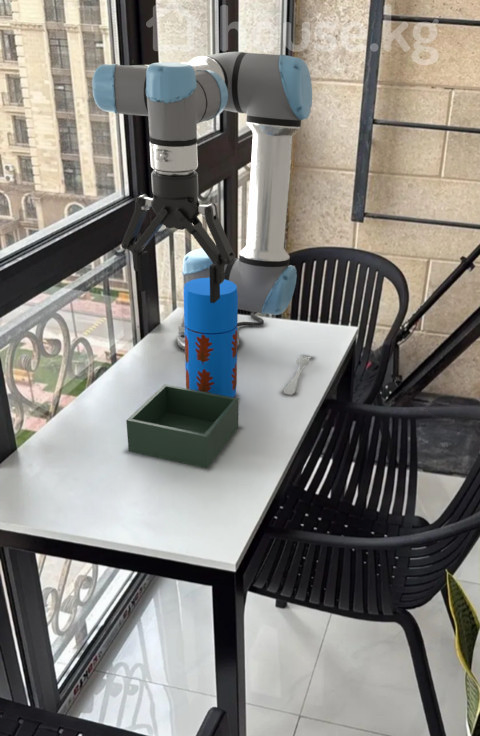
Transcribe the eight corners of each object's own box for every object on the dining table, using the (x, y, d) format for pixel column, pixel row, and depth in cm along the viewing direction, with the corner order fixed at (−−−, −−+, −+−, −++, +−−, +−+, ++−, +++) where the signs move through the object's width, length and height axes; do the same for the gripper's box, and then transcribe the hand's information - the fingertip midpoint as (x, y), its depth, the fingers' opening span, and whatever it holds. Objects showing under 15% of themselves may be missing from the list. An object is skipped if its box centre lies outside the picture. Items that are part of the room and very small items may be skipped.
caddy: (165, 413, 156) (164, 384, 153) (238, 428, 153) (238, 398, 149) (128, 451, 143) (126, 420, 139) (207, 468, 139) (206, 436, 136)
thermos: (228, 413, 158) (229, 298, 145) (179, 406, 159) (175, 292, 146) (241, 390, 167) (243, 280, 154) (195, 383, 168) (193, 274, 155)
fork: (281, 402, 168) (281, 392, 166) (302, 356, 184) (302, 346, 182) (293, 404, 167) (294, 394, 166) (313, 358, 183) (314, 348, 182)
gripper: (94, 166, 122) (105, 291, 134) (238, 183, 117) (237, 312, 128) (116, 157, 128) (126, 277, 140) (254, 173, 123) (252, 297, 134)
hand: (179, 294), depth 134 cm, fingers open, 13 cm apart
